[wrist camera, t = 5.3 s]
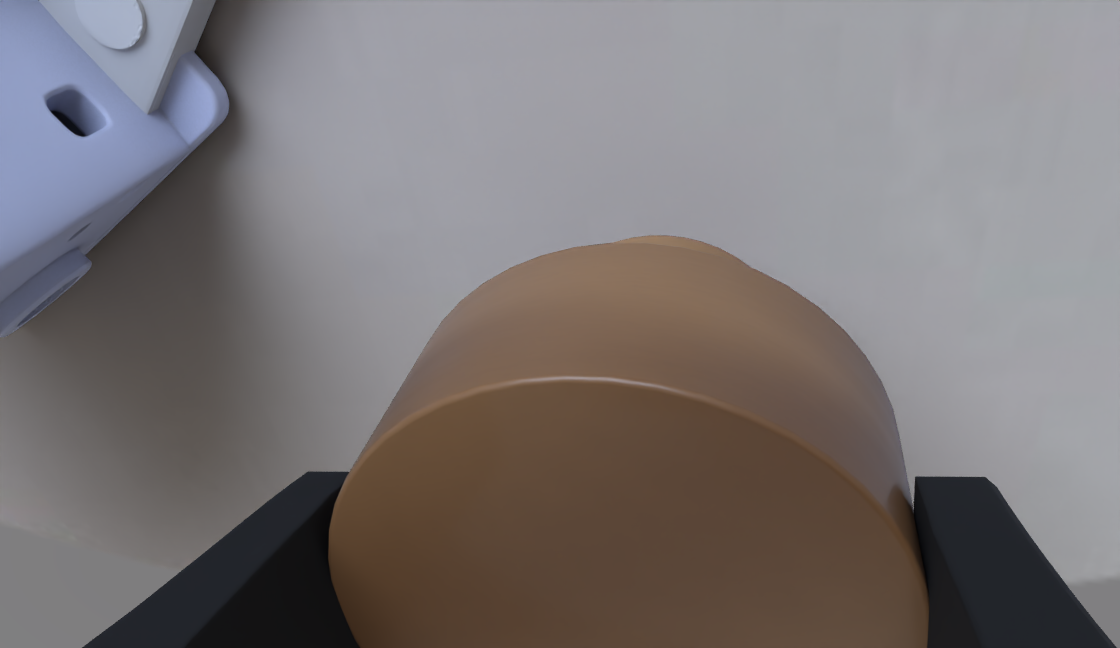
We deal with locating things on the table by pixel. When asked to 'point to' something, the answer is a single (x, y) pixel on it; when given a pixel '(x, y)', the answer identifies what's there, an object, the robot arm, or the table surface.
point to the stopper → (633, 470)
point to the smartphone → (133, 41)
